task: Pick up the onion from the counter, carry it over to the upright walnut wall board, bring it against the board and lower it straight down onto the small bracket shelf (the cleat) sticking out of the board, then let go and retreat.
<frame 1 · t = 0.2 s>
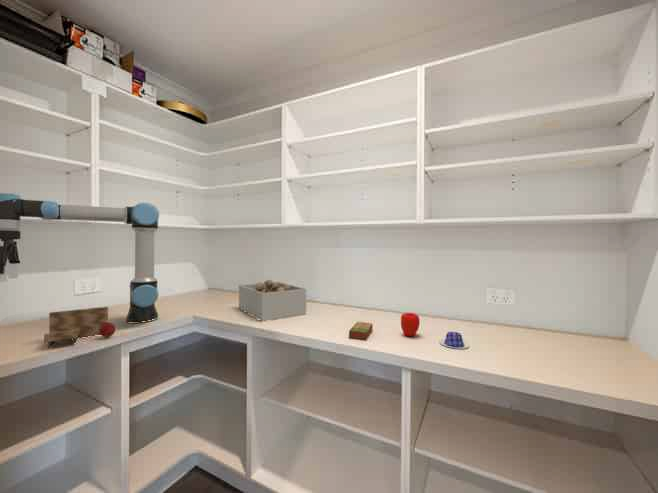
hand: (7, 280, 120), 28 cm above the worktop, fingers open, 13 cm apart
red rounded piece: (409, 336, 136), on the worktop
carton: (361, 335, 138), on the worktop
wallboard: (80, 338, 129), on the worktop
lumpy brown heap: (270, 311, 182), resting in storage crate
onion: (107, 338, 130), on the worktop
cleat shelf: (63, 344, 122), on the worktop
blue plaid bucket hat: (453, 345, 125), on the worktop
storage crate: (271, 311, 182), on the worktop
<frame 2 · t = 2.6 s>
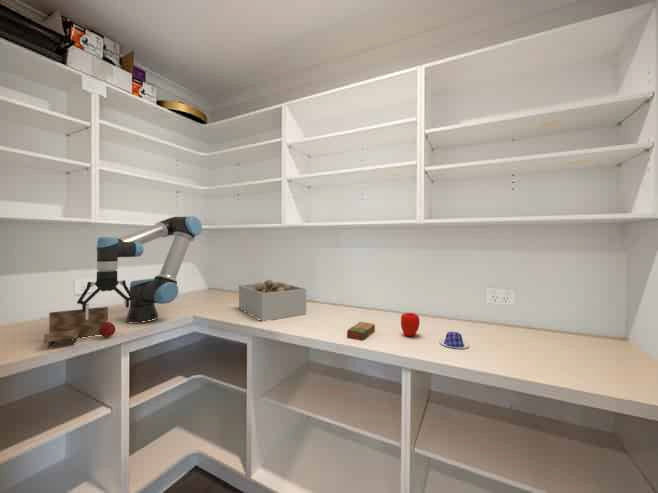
hand: (106, 317, 129), 10 cm above the worktop, fingers open, 13 cm apart
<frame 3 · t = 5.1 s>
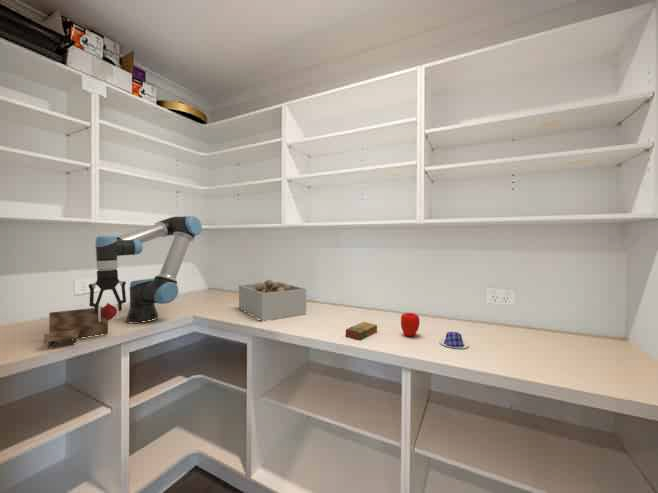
hand: (109, 319, 130), 8 cm above the worktop, fingers closed on onion, 6 cm apart
onion: (109, 320, 130), point 8 cm above the worktop, touching gripper
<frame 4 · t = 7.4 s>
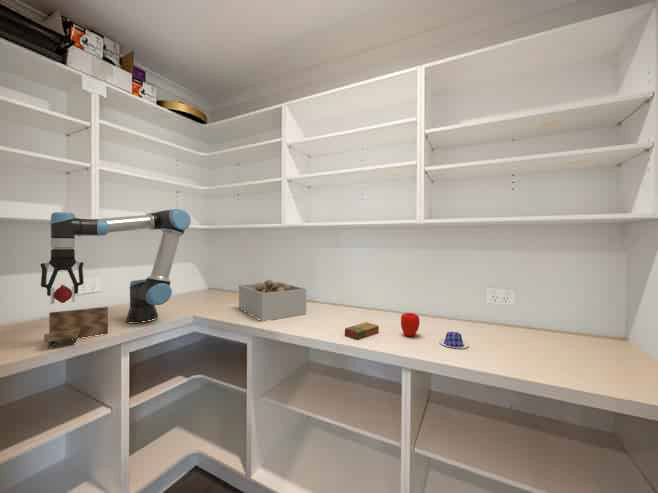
hand: (63, 302, 121), 18 cm above the worktop, fingers closed on onion, 6 cm apart
onion: (63, 303, 121), point 18 cm above the worktop, touching gripper
when the fingers open (6 cm above the worktop, at t = 9.9 s): onion stays where it is, resting on cleat shelf.
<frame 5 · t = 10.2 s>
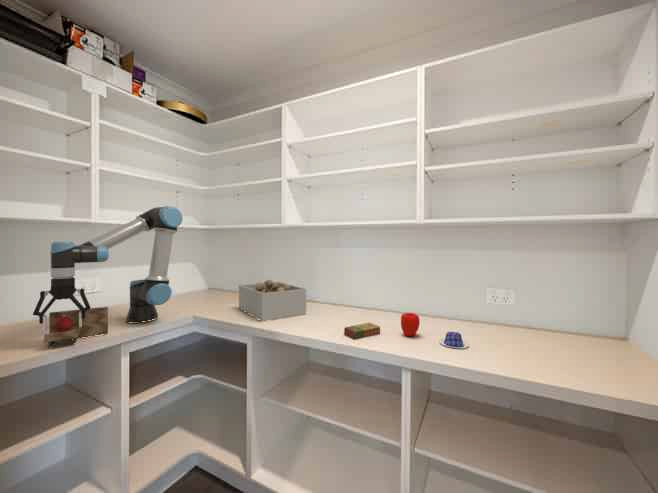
hand: (63, 328, 122), 7 cm above the worktop, fingers open, 10 cm apart
onion: (63, 333, 122), point 4 cm above the worktop, touching cleat shelf
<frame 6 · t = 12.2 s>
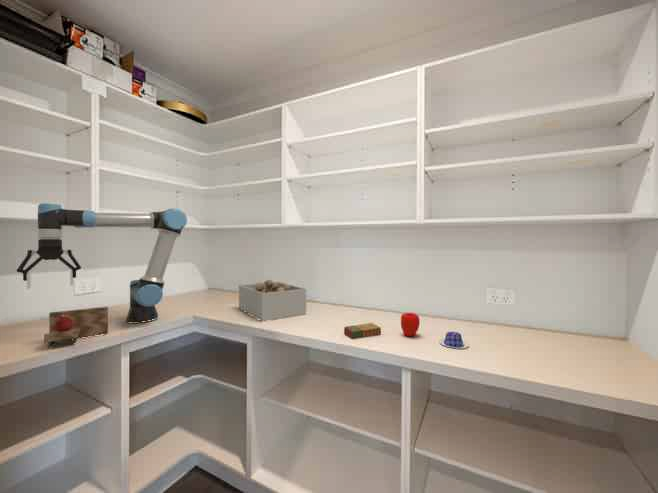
hand: (51, 286, 125), 24 cm above the worktop, fingers open, 13 cm apart
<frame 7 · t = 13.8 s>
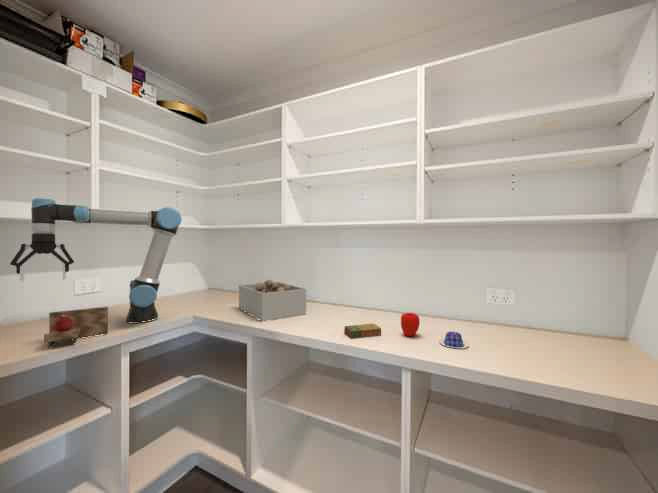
hand: (43, 280, 128), 27 cm above the worktop, fingers open, 13 cm apart
at the end: onion inside the target area (0.1 cm from its centre), point 4.4 cm above the worktop; the gripper is holding nothing; onion touching cleat shelf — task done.
